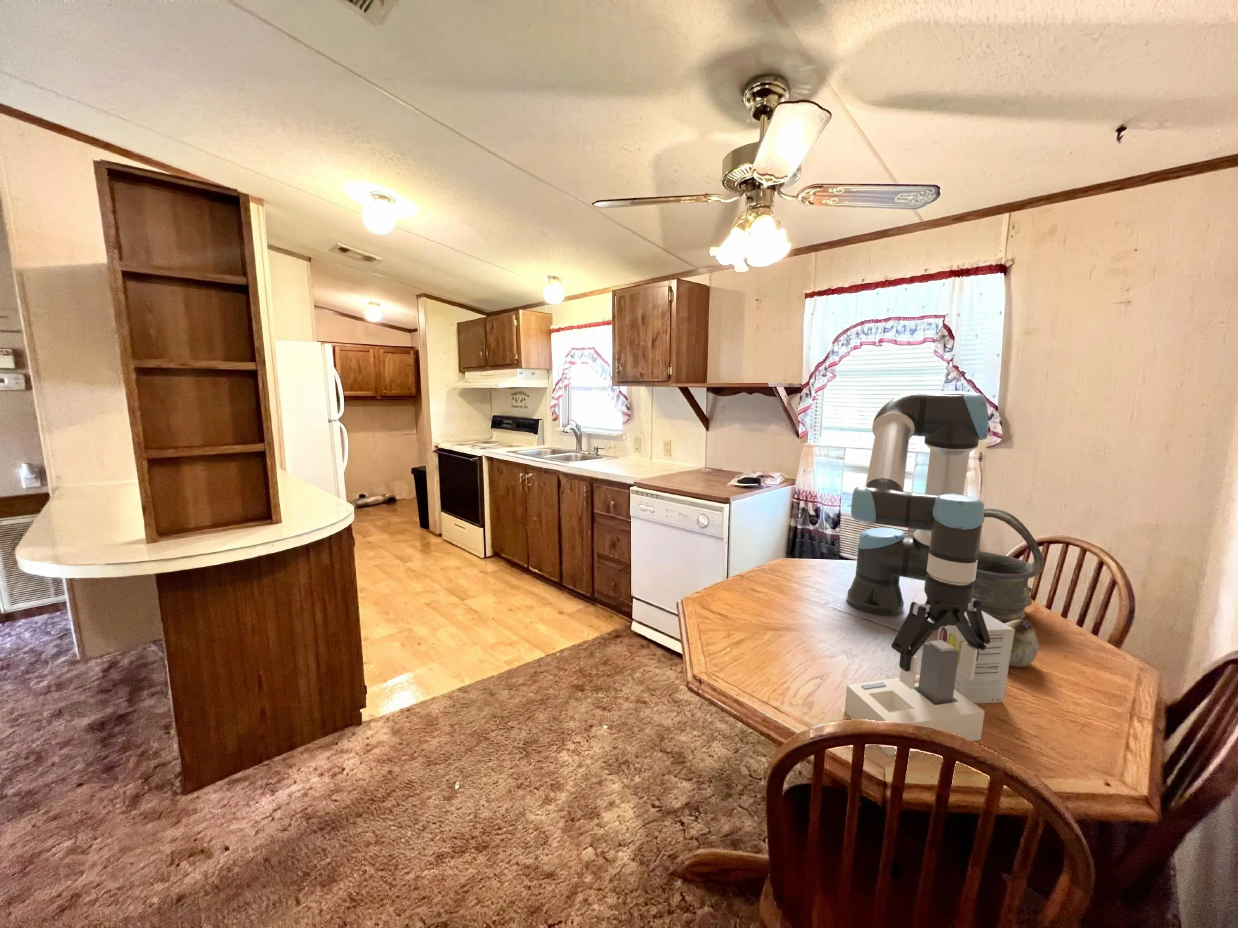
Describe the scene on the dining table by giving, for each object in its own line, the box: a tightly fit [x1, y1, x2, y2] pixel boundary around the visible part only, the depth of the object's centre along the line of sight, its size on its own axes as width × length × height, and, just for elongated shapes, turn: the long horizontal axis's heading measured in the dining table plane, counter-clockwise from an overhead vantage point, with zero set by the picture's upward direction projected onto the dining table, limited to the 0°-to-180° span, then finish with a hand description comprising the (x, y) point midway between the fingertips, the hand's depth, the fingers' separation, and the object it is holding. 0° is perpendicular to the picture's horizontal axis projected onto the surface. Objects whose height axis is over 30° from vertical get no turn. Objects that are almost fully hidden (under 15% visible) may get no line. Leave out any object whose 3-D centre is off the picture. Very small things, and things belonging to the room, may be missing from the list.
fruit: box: [1003, 619, 1040, 668], centre depth 114 cm, size 10×9×12 cm
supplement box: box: [937, 611, 1015, 705], centre depth 103 cm, size 10×9×17 cm
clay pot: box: [972, 508, 1045, 622], centre depth 141 cm, size 22×23×30 cm
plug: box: [918, 639, 959, 705], centre depth 93 cm, size 4×4×14 cm
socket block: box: [844, 674, 986, 757], centre depth 93 cm, size 20×12×6 cm, turn 102°
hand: (936, 680), depth 93 cm, fingers open, 13 cm apart
